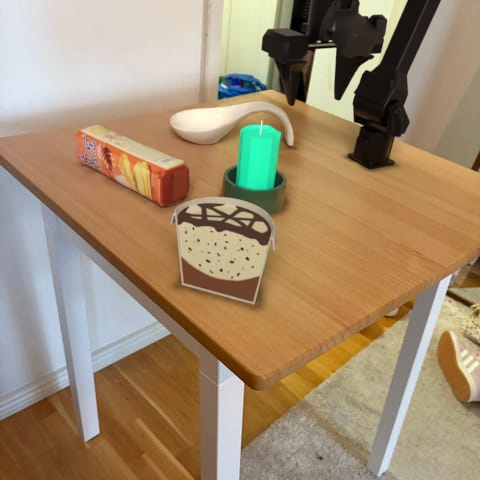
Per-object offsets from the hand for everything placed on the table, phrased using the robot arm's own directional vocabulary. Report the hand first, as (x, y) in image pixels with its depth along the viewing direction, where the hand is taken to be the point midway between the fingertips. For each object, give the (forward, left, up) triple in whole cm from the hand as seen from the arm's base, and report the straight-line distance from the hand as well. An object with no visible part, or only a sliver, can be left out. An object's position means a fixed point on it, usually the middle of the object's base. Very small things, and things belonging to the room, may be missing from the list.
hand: (314, 102), depth 82 cm
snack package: (+27, -10, -13) cm, 32 cm away
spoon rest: (+2, -20, -13) cm, 24 cm away
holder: (+12, +3, -13) cm, 18 cm away
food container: (+27, +20, -13) cm, 36 cm away
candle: (+12, +3, -13) cm, 18 cm away
